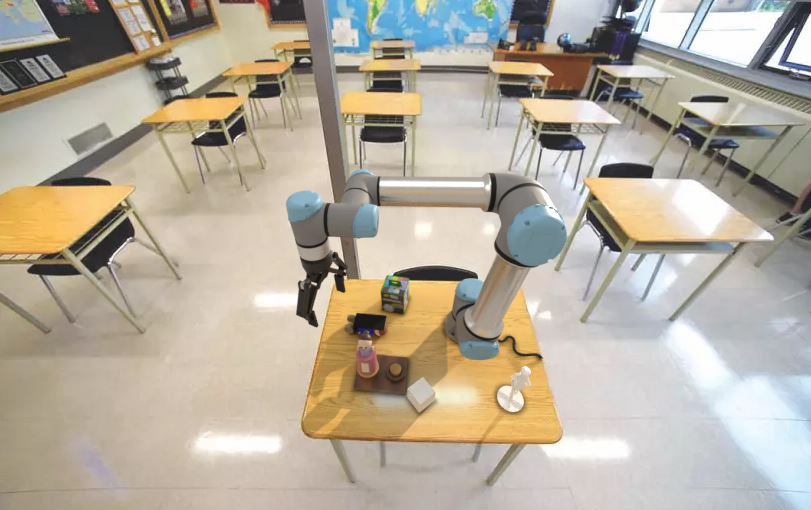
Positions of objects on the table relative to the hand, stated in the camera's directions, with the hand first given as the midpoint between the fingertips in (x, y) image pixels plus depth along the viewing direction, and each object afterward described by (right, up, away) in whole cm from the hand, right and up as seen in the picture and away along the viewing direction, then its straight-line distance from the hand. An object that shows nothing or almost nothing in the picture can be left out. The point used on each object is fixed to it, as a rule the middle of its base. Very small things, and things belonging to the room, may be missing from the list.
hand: (328, 307), depth 91 cm
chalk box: (+18, -5, +35) cm, 40 cm away
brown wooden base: (+15, -24, +13) cm, 31 cm away
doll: (+10, -21, +11) cm, 26 cm away
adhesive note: (+27, -30, +8) cm, 41 cm away
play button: (+19, -22, +11) cm, 31 cm away
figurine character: (+8, -13, +26) cm, 30 cm away
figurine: (+55, -30, +8) cm, 63 cm away
